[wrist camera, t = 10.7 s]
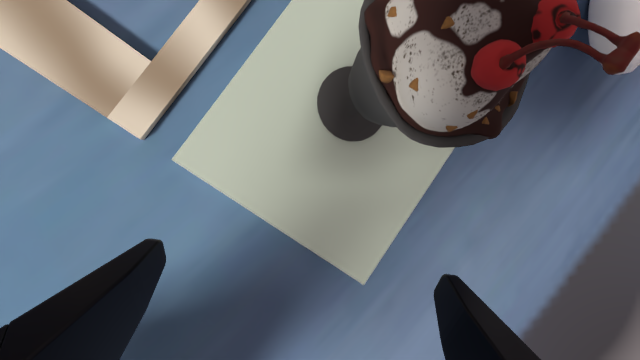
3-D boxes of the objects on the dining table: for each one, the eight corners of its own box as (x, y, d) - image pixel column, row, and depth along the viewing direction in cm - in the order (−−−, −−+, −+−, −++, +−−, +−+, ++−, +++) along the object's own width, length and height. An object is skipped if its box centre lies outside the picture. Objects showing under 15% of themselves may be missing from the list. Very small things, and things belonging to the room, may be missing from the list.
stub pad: (360, 281, 21) (363, 285, 20) (174, 159, 18) (171, 159, 17) (504, 64, 23) (510, 62, 22) (358, -85, 19) (361, -92, 19)
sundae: (329, 171, 19) (569, 203, 5) (287, 75, 18) (423, -265, 4) (411, 131, 20) (805, 58, 6) (376, 39, 19) (745, -326, 5)
